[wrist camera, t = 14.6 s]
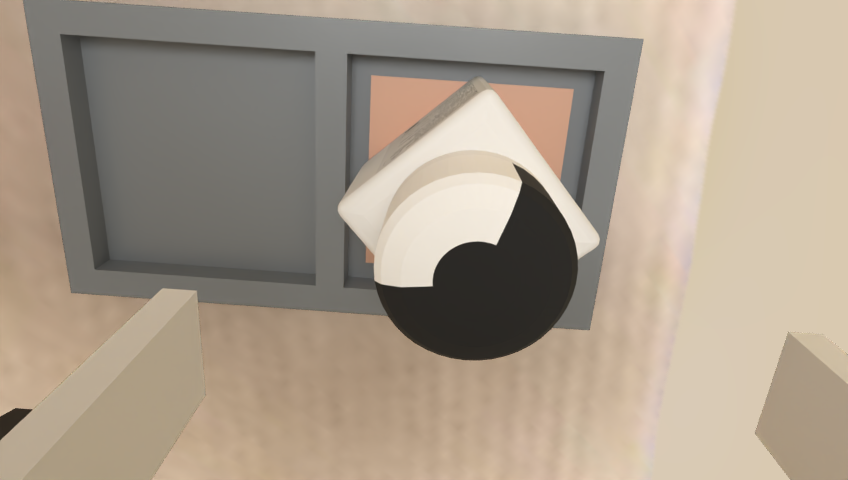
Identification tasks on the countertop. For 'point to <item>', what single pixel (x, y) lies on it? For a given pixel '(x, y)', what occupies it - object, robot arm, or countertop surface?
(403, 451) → the countertop surface
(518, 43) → the two-bay tray
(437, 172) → the container
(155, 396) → the robot arm
